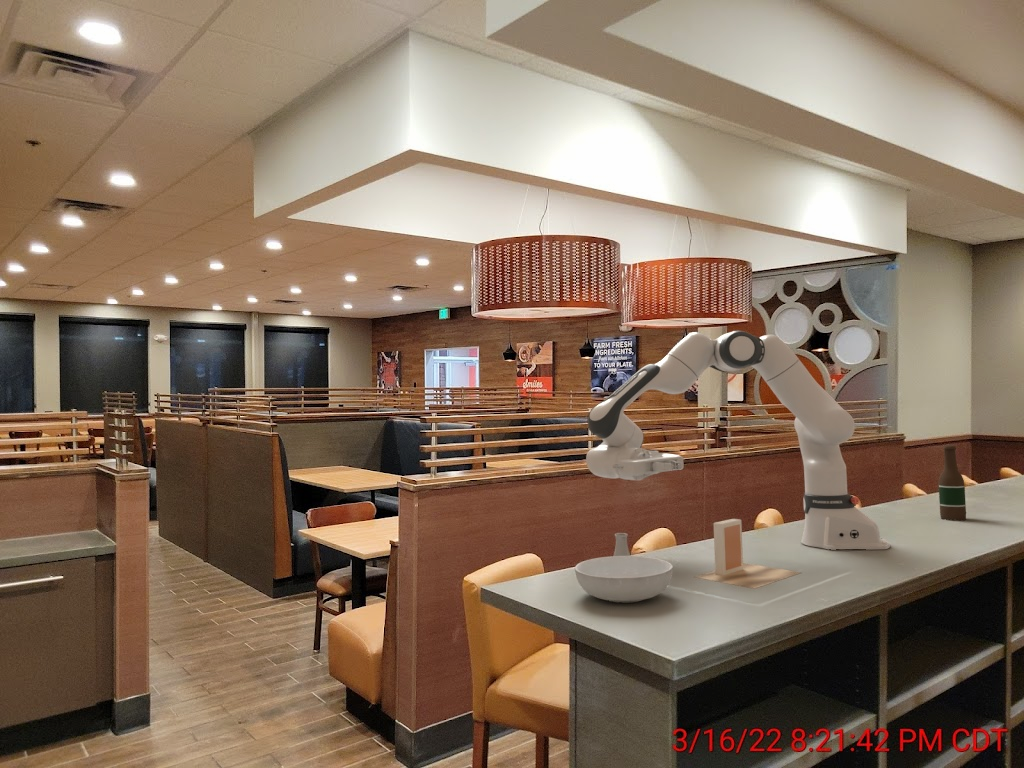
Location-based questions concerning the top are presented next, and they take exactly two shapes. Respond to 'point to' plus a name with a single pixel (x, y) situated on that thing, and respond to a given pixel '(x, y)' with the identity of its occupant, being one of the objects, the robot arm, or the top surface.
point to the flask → (621, 545)
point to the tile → (728, 546)
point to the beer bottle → (951, 488)
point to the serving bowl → (624, 577)
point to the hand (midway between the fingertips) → (676, 466)
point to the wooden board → (750, 576)
